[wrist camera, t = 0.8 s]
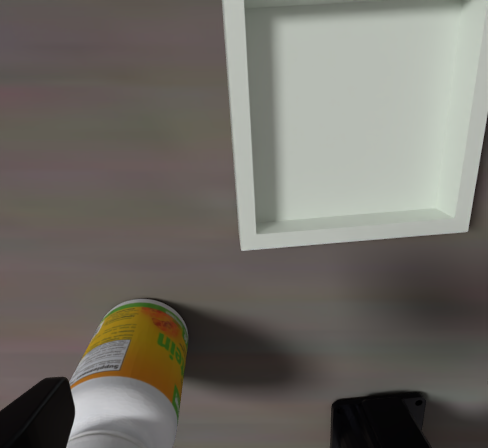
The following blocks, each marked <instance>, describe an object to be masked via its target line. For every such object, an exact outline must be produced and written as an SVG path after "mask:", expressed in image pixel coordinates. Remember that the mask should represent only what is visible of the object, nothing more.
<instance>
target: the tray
mask: <svg viewBox="0 0 488 448" xmlns="http://www.w3.org/2000/svg"><path fill="white" fill-rule="evenodd" d="M222 8H223V22H224V36H225V50H226V64H227V78H228V92H229V105H230V119H231V133H232V147H233V161H234V175H235V189H236V203H237V216H238V230H239V238H240V246H241V251H245V250H257V249H269V248H281V247H293V246H305V245H317V244H328V243H340V242H352V241H364V240H376V239H388V238H400V237H412V236H424V235H436V234H448V233H460V232H468V228H469V222H470V216H471V210H472V204H473V198H474V192H475V186H476V180H477V174H478V168H479V162H480V156H481V150H482V144H483V138H484V132H485V126H486V120H487V115H488V0H222Z"/></svg>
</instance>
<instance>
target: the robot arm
mask: <svg viewBox="0 0 488 448" xmlns="http://www.w3.org/2000/svg"><path fill="white" fill-rule="evenodd" d="M425 405H426V400H425V398H424V397H423V395H422V394H421V393H409V394H399V395H389V396H380V397H370V398H360V399H350V400H340V401H336V402H334V403H333V404H332V407H331V438H330V448H432V447H431V446H430V444H429V442H428V441H427V439H426V437H425V436H424V434H423V432H422V425H423V418H424V411H425ZM339 408H340V409H339ZM74 419H75V405H74V401H73V396H72V392H71V388H70V384H69V381H68V379H67V378H66V377H50V378H45V379H43V380H41V381H40V382H39V383H37V384H36V385H35V386H33V387H32V388H31V389H29V390H28V391H27V392H25V393H24V394H23V395H21V396H20V397H19V398H17V399H16V400H14V401H13V402H12V403H10V404H9V405H8V406H6V407H5V408H4V409H2V410H1V411H0V448H66V447H67V443H68V440H69V436H70V433H71V430H72V426H73V423H74Z"/></svg>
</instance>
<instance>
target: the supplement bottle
mask: <svg viewBox="0 0 488 448" xmlns="http://www.w3.org/2000/svg"><path fill="white" fill-rule="evenodd" d="M187 348H188V331H187V327H186V325H185V322H184V321H183V319H182V318H181V316H180V315H179V314H178V313H177V312H176V311H175V310H174V309H172V308H171V307H170V306H168V305H166V304H164V303H162V302H159V301H156V300H151V299H134V300H130V301H126V302H123V303H121V304H119V305H117V306H115V307H114V308H113V309H111V310H110V311H109V312H108V313H107V314H106V316H105V317H104V318H103V320H102V322H101V323H100V325H99V327H98V328H97V330H96V332H95V334H94V336H93V338H92V340H91V342H90V344H89V346H88V348H87V350H86V352H85V354H84V355H83V357H82V359H81V361H80V363H79V365H78V367H77V369H76V371H75V373H74V375H73V376H72V378H71V380H70V382H69V384H70V388H71V392H72V396H73V401H74V405H75V419H74V423H73V426H72V430H71V433H70V436H69V440H68V443H67V447H66V448H172V447H173V444H174V441H175V437H176V432H177V425H178V417H179V408H180V401H181V393H182V385H183V378H184V370H185V363H186V355H187Z"/></svg>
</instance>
